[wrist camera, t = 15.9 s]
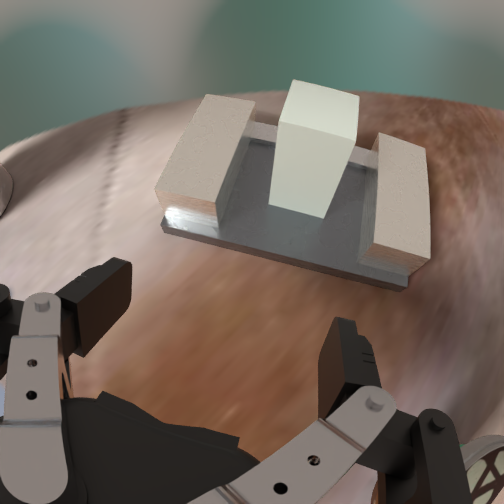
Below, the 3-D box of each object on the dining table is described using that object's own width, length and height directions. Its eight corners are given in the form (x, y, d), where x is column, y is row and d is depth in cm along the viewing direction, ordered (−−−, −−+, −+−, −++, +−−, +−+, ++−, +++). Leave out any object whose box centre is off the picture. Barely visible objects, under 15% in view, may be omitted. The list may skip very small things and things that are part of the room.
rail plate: (164, 232, 28) (149, 199, 23) (213, 125, 34) (209, 88, 29) (400, 292, 27) (430, 270, 22) (404, 173, 32) (424, 141, 27)
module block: (268, 204, 28) (278, 120, 19) (280, 162, 30) (293, 79, 21) (323, 218, 28) (356, 140, 18) (331, 175, 30) (359, 96, 20)
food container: (438, 402, 22) (514, 397, 13) (464, 445, 20) (538, 452, 11) (329, 493, 20) (373, 541, 10) (363, 534, 18) (412, 583, 8)
